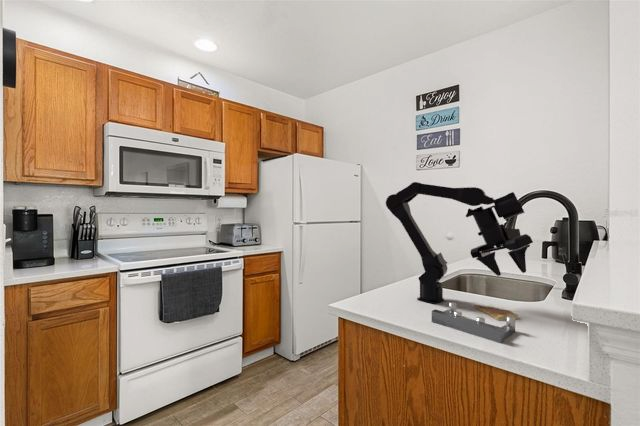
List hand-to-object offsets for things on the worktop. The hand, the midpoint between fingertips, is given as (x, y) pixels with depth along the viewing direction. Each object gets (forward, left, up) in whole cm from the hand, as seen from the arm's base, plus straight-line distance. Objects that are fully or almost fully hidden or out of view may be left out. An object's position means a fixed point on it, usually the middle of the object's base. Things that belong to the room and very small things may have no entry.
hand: (511, 273), depth 96 cm
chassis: (-2, -20, -11) cm, 23 cm away
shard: (-2, -7, -12) cm, 14 cm away
